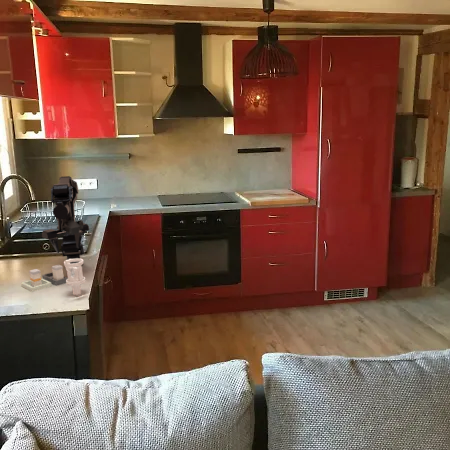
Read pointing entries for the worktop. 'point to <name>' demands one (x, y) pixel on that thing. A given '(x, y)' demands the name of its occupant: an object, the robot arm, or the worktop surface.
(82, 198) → the worktop surface
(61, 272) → the block
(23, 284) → the tray
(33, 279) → the marked fuse
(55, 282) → the fuse board
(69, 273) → the white tall plastic piece
